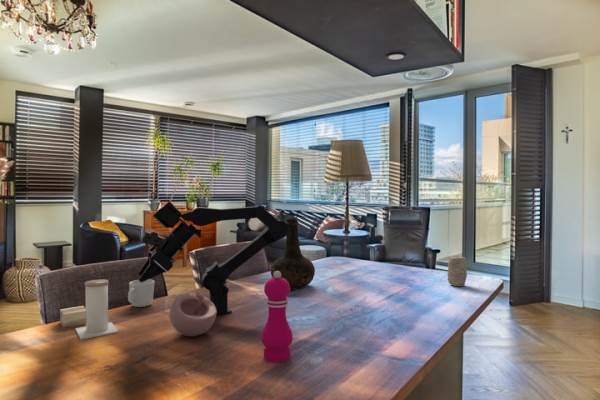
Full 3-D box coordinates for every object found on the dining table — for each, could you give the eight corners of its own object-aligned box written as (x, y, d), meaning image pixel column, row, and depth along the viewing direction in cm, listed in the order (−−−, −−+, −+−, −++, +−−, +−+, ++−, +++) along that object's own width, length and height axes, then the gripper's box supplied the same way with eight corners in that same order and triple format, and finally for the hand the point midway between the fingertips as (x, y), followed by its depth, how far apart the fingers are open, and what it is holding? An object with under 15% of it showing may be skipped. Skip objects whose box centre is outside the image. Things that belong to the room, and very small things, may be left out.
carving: (469, 287, 157) (469, 258, 157) (450, 287, 157) (451, 257, 157) (463, 283, 163) (463, 255, 163) (445, 283, 163) (445, 255, 163)
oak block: (87, 324, 112) (87, 310, 112) (63, 328, 108) (63, 314, 108) (83, 318, 116) (83, 305, 116) (60, 323, 113) (60, 309, 113)
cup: (140, 312, 123) (140, 287, 123) (118, 310, 124) (118, 285, 124) (159, 302, 133) (159, 279, 133) (138, 301, 135) (138, 278, 135)
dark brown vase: (317, 282, 164) (317, 217, 164) (311, 293, 147) (311, 219, 146) (276, 280, 167) (276, 216, 167) (265, 291, 150) (265, 219, 149)
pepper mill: (261, 351, 93) (261, 268, 92) (291, 350, 93) (291, 267, 93) (261, 364, 86) (261, 274, 85) (293, 363, 86) (293, 273, 86)
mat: (118, 332, 105) (118, 330, 105) (80, 339, 99) (80, 338, 99) (111, 323, 112) (111, 321, 112) (75, 329, 106) (75, 328, 106)
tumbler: (113, 328, 106) (112, 281, 106) (91, 334, 102) (90, 285, 101) (102, 324, 110) (102, 278, 110) (81, 330, 105) (80, 282, 105)
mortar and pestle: (191, 347, 95) (191, 300, 95) (159, 337, 101) (159, 294, 101) (225, 332, 105) (225, 290, 105) (194, 324, 111) (194, 284, 111)
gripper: (156, 219, 125) (119, 255, 121) (159, 223, 108) (116, 266, 104) (181, 242, 128) (146, 278, 124) (189, 249, 111) (148, 292, 107)
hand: (139, 278), depth 115 cm, fingers open, 9 cm apart
